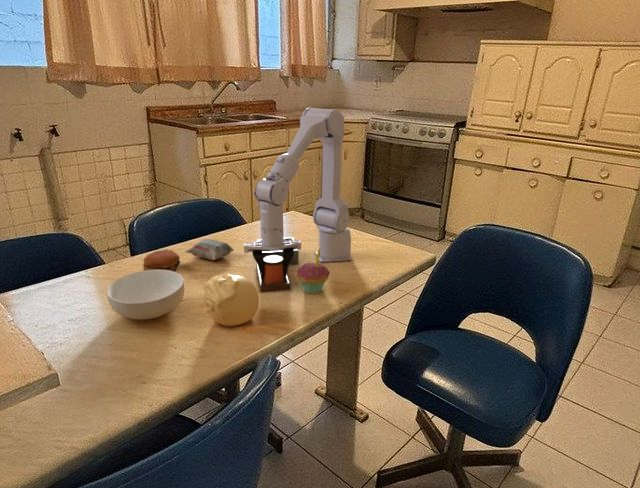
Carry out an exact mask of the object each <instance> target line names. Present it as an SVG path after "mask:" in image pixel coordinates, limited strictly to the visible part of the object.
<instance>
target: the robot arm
mask: <svg viewBox="0 0 640 488" xmlns="http://www.w3.org/2000/svg"><path fill="white" fill-rule="evenodd" d="M299 126H300V127H299V129H298V131H297V133H296V134H295V136H294V138H293V140H292V142H291V144H290V146H289V148H288V150H287V151H286V153H282V154H279V155H278V156H277V158H276V159H275V162H274V164H273V166H271V169H270V170H269V171H268V173H267V175H266V176H265V178H262V179H260V180H259V181H258V182H257V183H256V185H255V188H254V191H253V196H254V198H255V199H256V201H257V207H258V208H259V218H260V219H259V220H260V221H259V223H260V239H261V241H252V242H246V243H244V242H243V252H244V254H249V253H252V257H253V259H254V260H255V262H256V265H257V264H258V266H259V269H260V272H261V277H262V278H264V269H263V253H262V251H278V250H283V269H284V276H286V275H287V276H288V274H287V273H288V270H289V267H290V265H289V264H290V261H291V259H292V258H293V256H294V251H293V249H297V250H298V251H300V250H302V242H301V240H300V239H294V240H284V238H285V236H284V203H285V202H286V200H287V199H288V197H289V189H290V186H291V185H290V183H291V182H292V181H293V178H294V177H295V176H296V174H297V172H298V170H299V169H300V163H299V161H300V159H301V158H302V157H303V155H304V153H305V152H306V151H307V150H308V148H309V147H310V145H311V144H312V143H313V141H314V140H316V139H319V140H320V142H321V143H322V175H321V176H322V177H321V178H322V180H321V198H319V199H318V200H317V201H316V202H315V204H314V211H313V213H312V220H313V223H314V224H315V225H316V228H317V229H318V250H319V249H320V257H319V263H330V262H342V261H351V260H352V257H351V250H352V234H351V231H350V229H349V228H348V227H349V224H350V218H351V217H350V213H349V205H348V203H346V202H345V201H344V200H343V198H342V197H341V190H342V189H341V187H342V162H343V161H342V159H343V140H344V134H345V117H344V115H343V114H342V112H341V111H340V110H339V109H336V108H335V109H330V108H318V107H317V108H315V107H307V108H305V110H304V111H303V113H302V115H301V117H300V118H299ZM318 250H315V255H316V256H317V253H318Z"/></svg>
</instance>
